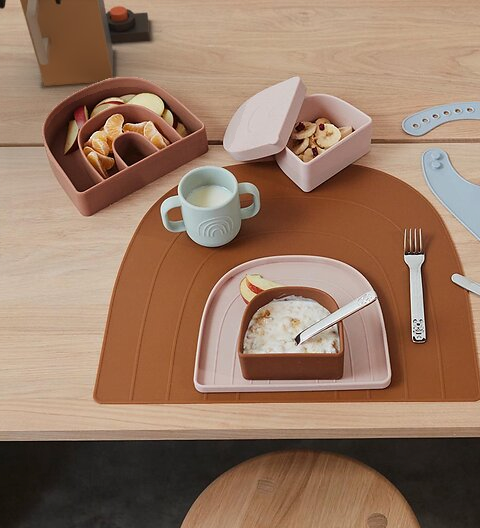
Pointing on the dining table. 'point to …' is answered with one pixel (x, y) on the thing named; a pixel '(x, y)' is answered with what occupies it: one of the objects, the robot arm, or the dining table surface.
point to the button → (118, 14)
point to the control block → (129, 28)
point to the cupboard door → (68, 40)
